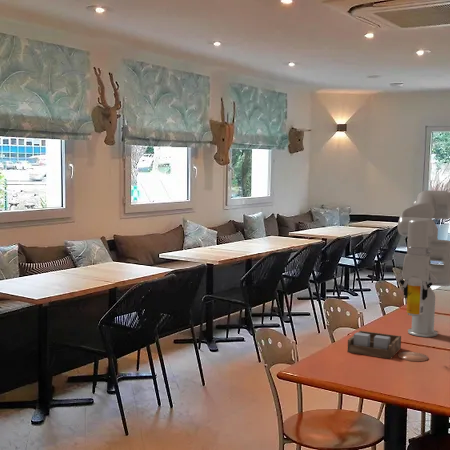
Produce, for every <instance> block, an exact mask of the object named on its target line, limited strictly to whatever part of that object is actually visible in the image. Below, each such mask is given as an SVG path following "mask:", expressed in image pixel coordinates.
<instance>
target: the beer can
mask: <svg viewBox="0 0 450 450" xmlns="http://www.w3.org/2000/svg"><path fill="white" fill-rule="evenodd" d="M423 289H424V286H423V282H422V281H421V279H420V278H419V277H411V278H410V279H409V280H408V290H407V298H406V313H407V315H408V316H411V317H412V316H421V315H422V314H423V302H424V300H423V299H422V295H423Z"/></svg>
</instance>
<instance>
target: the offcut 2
mask: <svg viewBox="0 0 450 450" xmlns="http://www.w3.org/2000/svg"><path fill="white" fill-rule="evenodd" d="M390 338H391V337H388V336H380V335H376V336H375V337H374V348H379V349H385V350H388V346H389V345H390Z"/></svg>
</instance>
